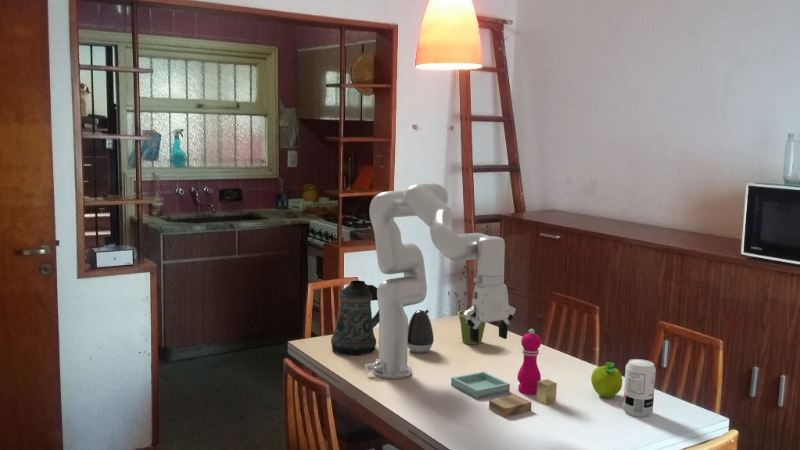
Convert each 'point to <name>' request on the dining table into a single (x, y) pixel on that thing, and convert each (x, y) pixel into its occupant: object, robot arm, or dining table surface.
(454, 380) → the tray
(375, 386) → the dining table surface
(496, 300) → the robot arm
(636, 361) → the supplement can
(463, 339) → the plant pot
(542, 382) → the block
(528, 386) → the pepper mill
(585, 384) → the dining table surface
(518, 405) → the flat wooden chunk
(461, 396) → the dining table surface
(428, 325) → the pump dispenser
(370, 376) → the dining table surface
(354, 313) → the beer stein
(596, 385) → the fruit
